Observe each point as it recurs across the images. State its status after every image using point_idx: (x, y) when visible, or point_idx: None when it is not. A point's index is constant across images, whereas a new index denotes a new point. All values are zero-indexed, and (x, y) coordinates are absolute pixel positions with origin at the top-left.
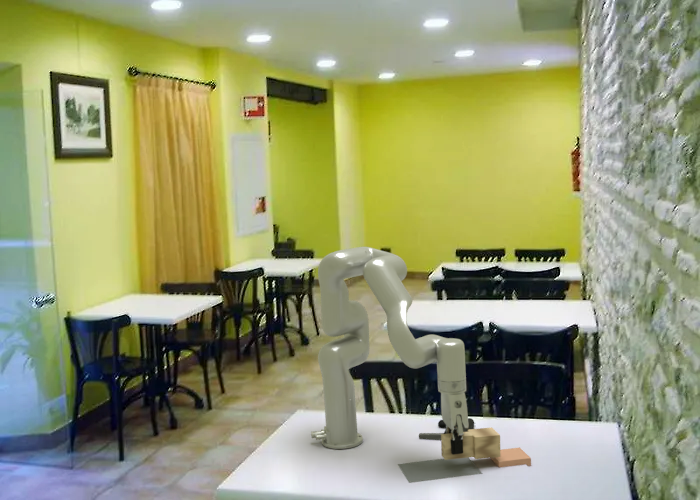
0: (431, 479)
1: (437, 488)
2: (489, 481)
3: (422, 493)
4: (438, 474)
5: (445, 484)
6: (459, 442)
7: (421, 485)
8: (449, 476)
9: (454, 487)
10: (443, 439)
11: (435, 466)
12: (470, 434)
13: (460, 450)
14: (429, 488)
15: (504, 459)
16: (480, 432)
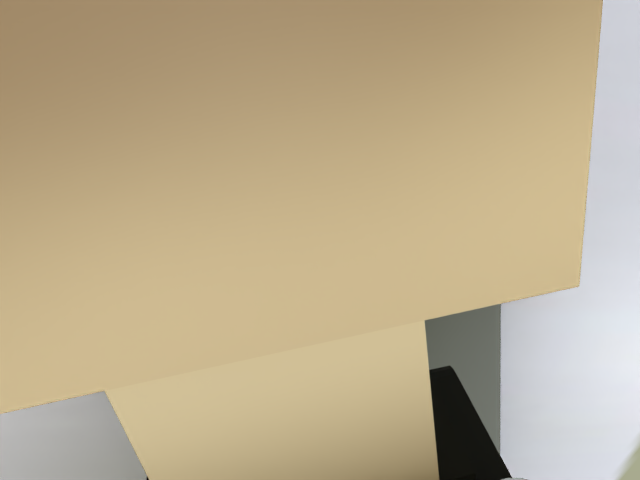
0: (494, 428)
1: (593, 385)
2: (636, 4)
3: (623, 448)
4: None
5: (555, 344)
6: (500, 475)
7: (520, 458)
8: (482, 331)
9: (623, 294)
10: None
11: None
12: (345, 373)
13: (452, 371)
14: (575, 422)
15: None
16: (172, 80)
